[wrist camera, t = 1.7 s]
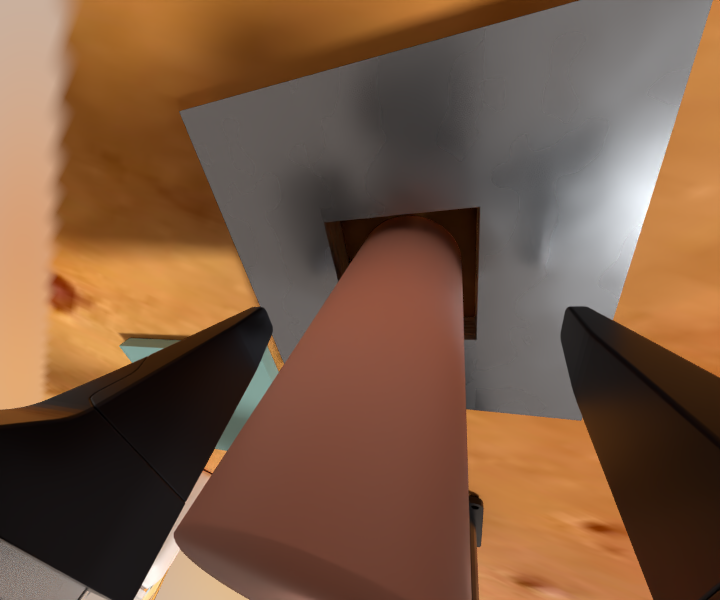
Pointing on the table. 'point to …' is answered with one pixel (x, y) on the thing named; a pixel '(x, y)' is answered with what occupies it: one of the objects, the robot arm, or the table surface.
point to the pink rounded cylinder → (354, 443)
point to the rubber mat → (249, 401)
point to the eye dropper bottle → (170, 542)
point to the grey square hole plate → (466, 173)
